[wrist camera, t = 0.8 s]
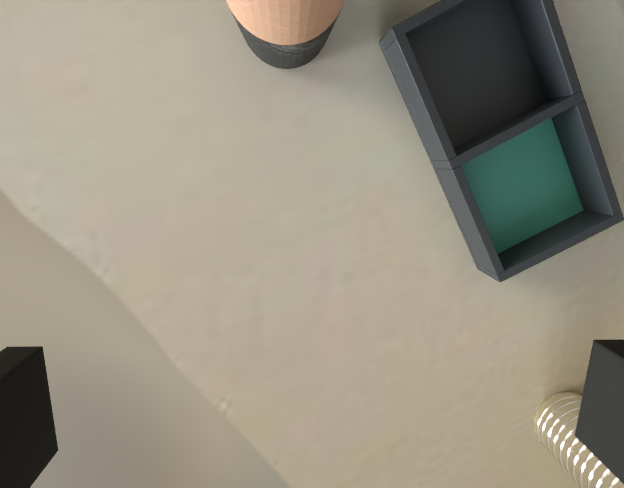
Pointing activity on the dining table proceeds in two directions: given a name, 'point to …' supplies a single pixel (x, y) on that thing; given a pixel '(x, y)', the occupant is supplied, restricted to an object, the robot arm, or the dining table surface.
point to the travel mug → (285, 28)
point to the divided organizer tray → (504, 128)
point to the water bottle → (570, 442)
